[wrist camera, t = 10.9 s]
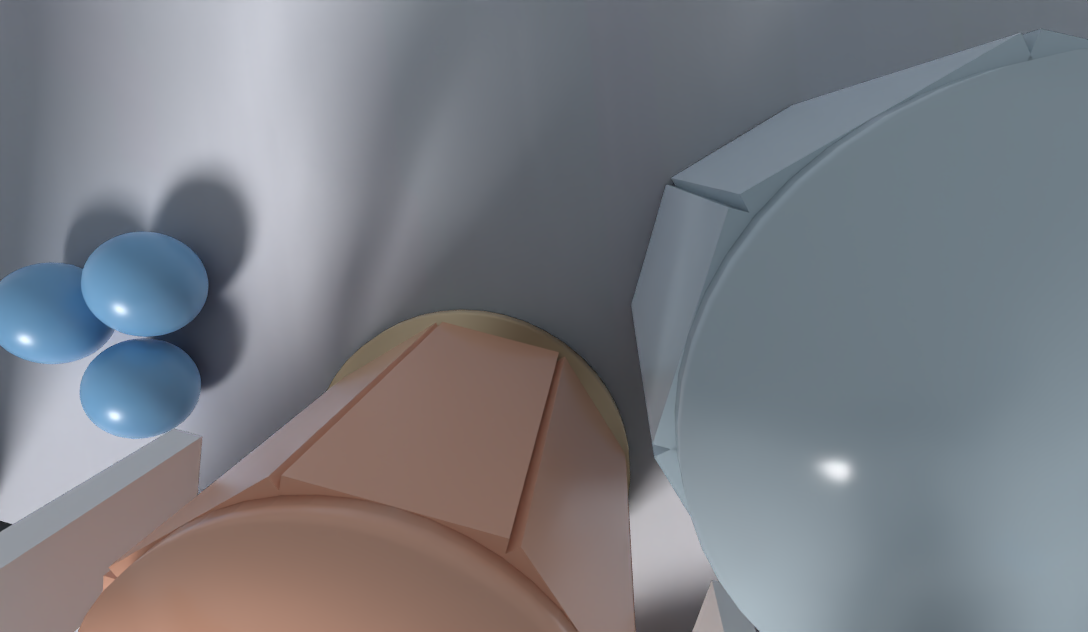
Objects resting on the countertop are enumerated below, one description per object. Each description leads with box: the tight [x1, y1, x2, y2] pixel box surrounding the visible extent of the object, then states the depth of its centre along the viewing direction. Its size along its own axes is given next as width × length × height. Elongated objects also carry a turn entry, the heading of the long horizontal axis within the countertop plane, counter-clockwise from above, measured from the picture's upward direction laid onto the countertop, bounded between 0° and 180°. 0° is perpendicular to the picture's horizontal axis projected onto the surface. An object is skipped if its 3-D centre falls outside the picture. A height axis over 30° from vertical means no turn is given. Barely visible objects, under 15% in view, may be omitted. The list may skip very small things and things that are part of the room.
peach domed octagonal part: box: [78, 322, 636, 632], centre depth 13 cm, size 9×9×9 cm
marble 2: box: [81, 231, 208, 337], centre depth 17 cm, size 3×3×3 cm
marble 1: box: [0, 262, 115, 364], centre depth 17 cm, size 3×3×3 cm
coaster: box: [327, 310, 630, 495], centre depth 18 cm, size 10×10×1 cm
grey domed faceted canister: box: [631, 29, 1088, 632], centre depth 12 cm, size 9×9×9 cm
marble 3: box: [80, 338, 201, 439], centre depth 17 cm, size 3×3×3 cm
